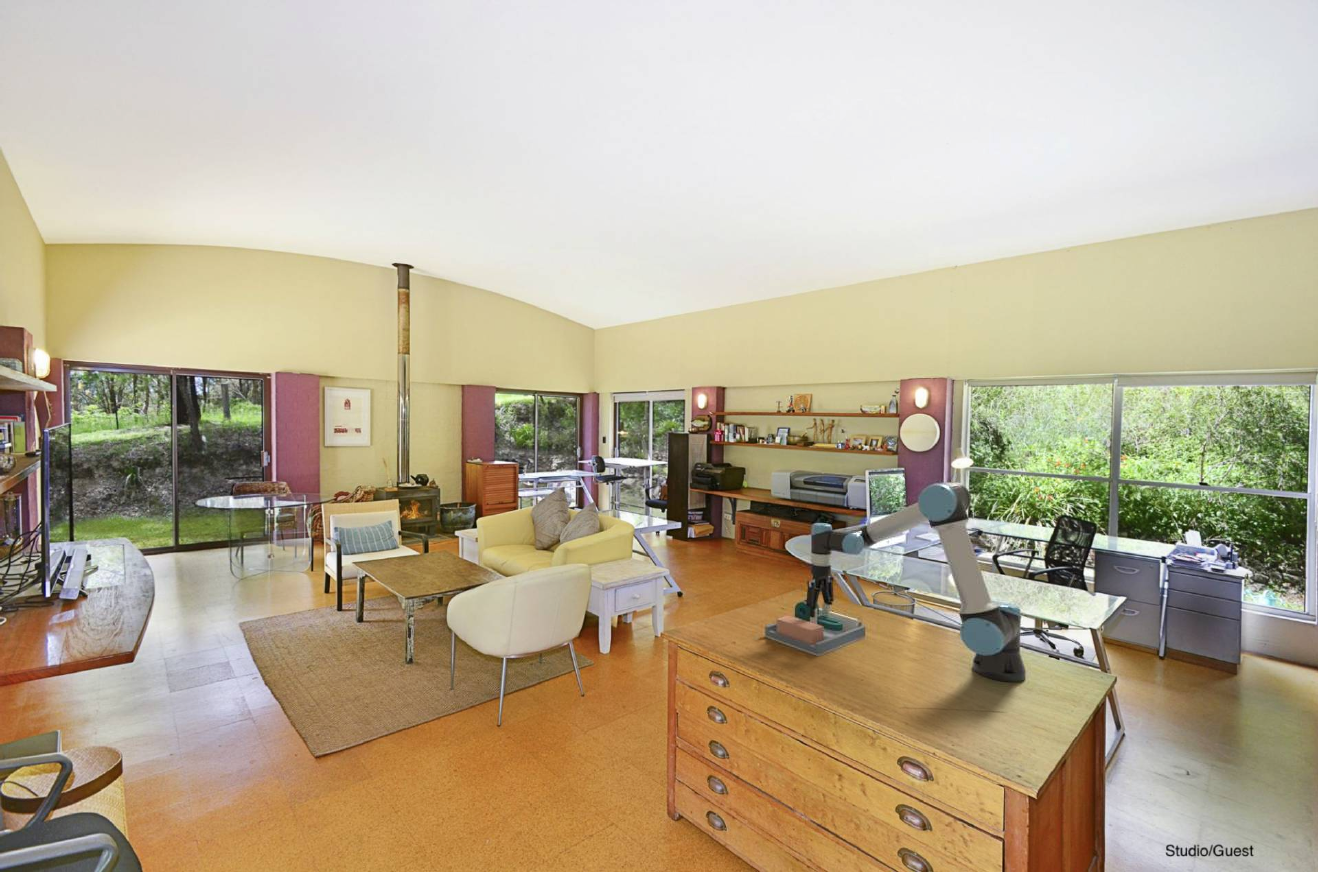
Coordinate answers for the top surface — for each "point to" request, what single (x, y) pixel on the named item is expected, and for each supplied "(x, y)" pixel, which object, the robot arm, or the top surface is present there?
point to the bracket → (827, 622)
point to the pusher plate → (843, 620)
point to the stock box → (800, 629)
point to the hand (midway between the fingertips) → (819, 622)
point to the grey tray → (828, 644)
